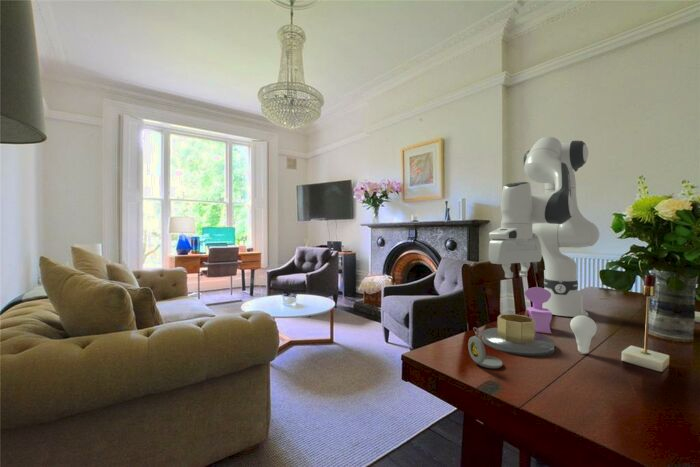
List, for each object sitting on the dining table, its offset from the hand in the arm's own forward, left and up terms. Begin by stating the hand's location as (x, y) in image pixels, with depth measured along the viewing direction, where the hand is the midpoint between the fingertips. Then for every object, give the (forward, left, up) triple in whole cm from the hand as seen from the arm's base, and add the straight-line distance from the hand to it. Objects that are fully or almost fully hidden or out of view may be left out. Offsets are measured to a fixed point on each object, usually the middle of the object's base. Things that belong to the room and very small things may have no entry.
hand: (516, 277), depth 96 cm
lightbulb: (-2, +17, -21) cm, 27 cm away
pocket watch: (+22, -5, -21) cm, 31 cm away
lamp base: (0, 0, -21) cm, 21 cm away
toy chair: (-20, +5, -21) cm, 30 cm away
